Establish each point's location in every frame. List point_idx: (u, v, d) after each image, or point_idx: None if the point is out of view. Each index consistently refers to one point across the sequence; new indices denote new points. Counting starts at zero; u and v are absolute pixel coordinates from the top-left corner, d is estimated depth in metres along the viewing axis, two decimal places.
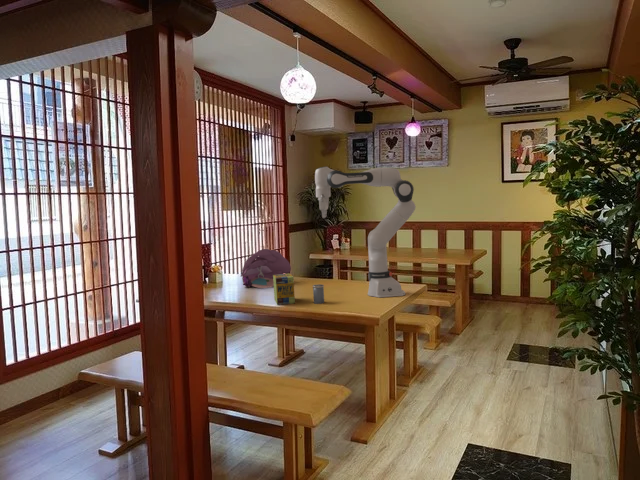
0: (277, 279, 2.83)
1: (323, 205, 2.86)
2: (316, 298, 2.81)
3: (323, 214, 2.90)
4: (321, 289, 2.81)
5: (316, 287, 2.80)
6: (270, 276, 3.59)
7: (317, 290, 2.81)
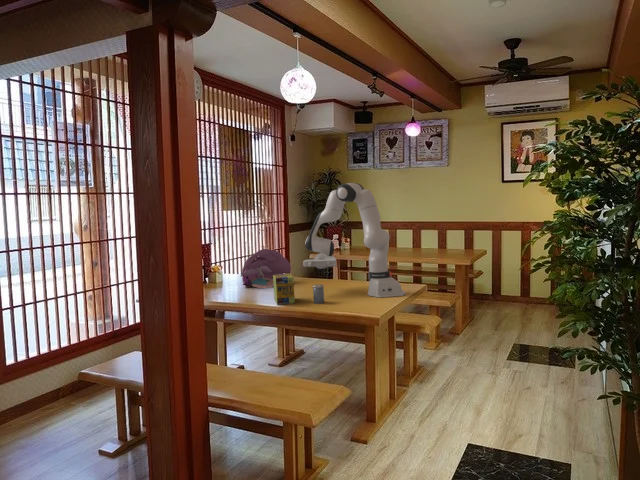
0: (277, 279, 2.83)
1: None
2: (316, 298, 2.81)
3: (309, 264, 2.97)
4: (321, 289, 2.81)
5: (316, 287, 2.80)
6: (270, 276, 3.59)
7: (317, 290, 2.81)
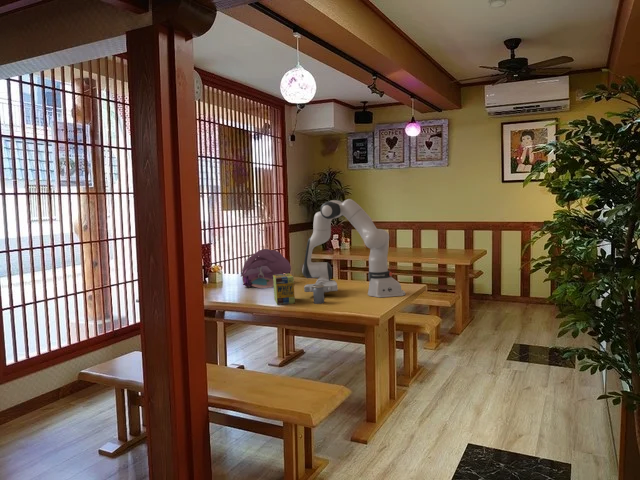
0: (277, 279, 2.83)
1: None
2: (316, 298, 2.81)
3: (310, 289, 2.95)
4: (321, 289, 2.81)
5: (316, 287, 2.80)
6: (270, 276, 3.59)
7: (317, 290, 2.81)
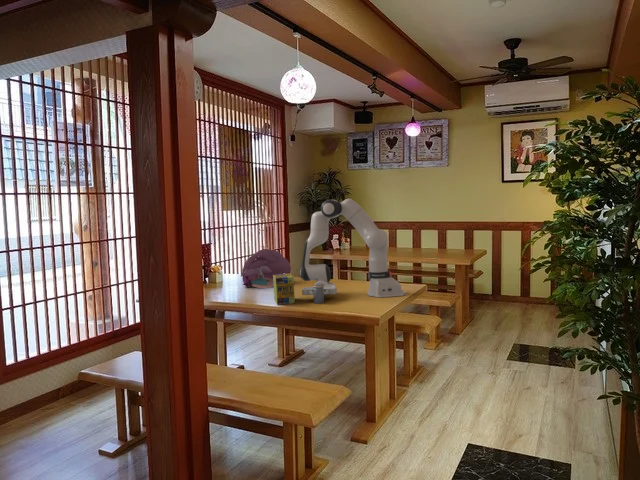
0: (277, 279, 2.83)
1: None
2: (316, 298, 2.81)
3: (310, 293, 2.85)
4: (321, 289, 2.81)
5: (316, 287, 2.80)
6: (270, 276, 3.59)
7: (317, 290, 2.81)
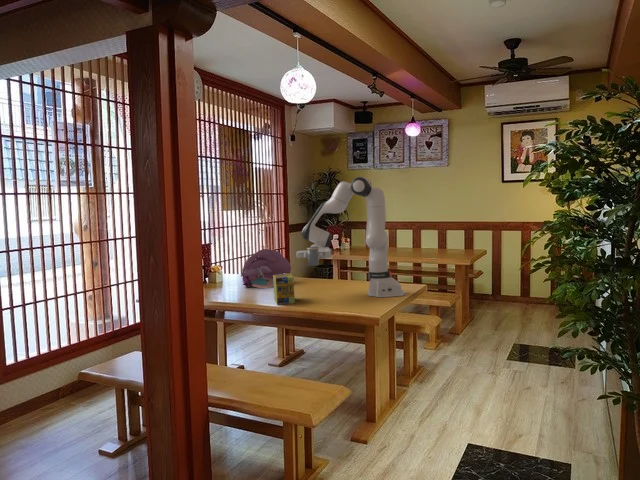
0: (277, 279, 2.83)
1: None
2: (310, 260, 2.80)
3: (304, 255, 2.84)
4: (315, 251, 2.80)
5: (310, 249, 2.79)
6: (270, 276, 3.59)
7: (312, 252, 2.79)
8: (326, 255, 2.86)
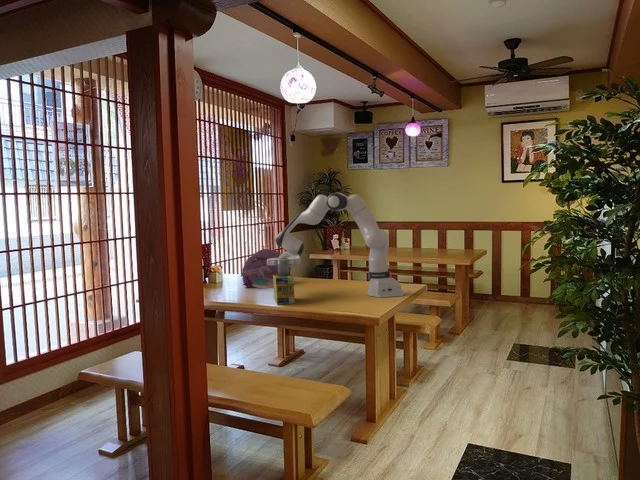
0: (277, 279, 2.83)
1: None
2: (280, 271, 2.88)
3: (273, 263, 2.92)
4: (285, 262, 2.88)
5: (280, 260, 2.87)
6: (270, 276, 3.59)
7: (281, 263, 2.87)
8: (295, 262, 2.93)
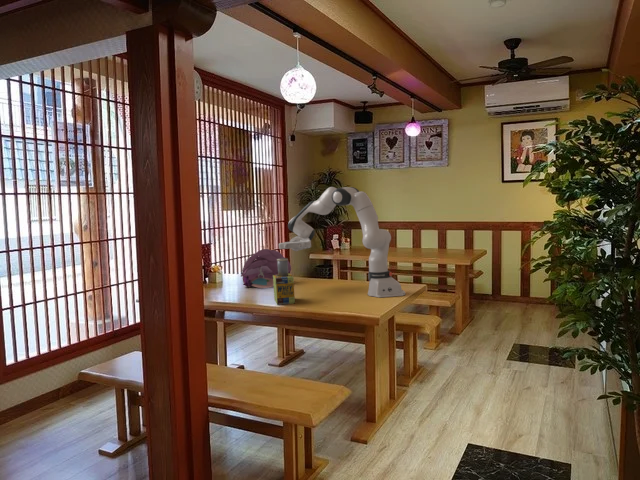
0: (277, 279, 2.83)
1: None
2: (280, 271, 2.88)
3: (284, 246, 3.06)
4: (285, 262, 2.88)
5: (280, 260, 2.87)
6: (270, 276, 3.59)
7: (281, 263, 2.87)
8: (306, 245, 3.07)
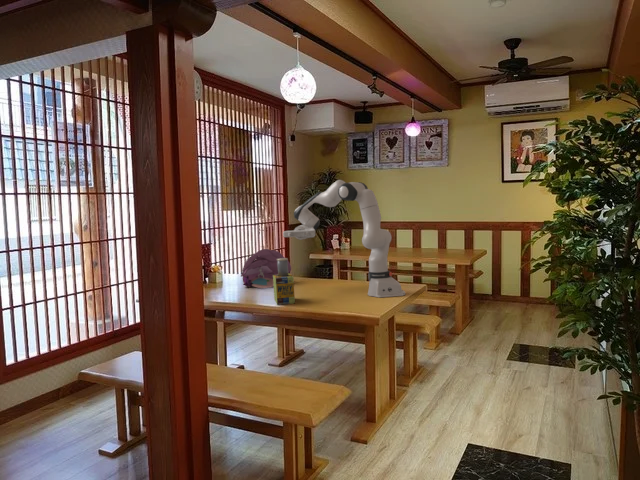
0: (277, 279, 2.83)
1: None
2: (280, 271, 2.88)
3: (289, 234, 3.06)
4: (285, 262, 2.88)
5: (280, 260, 2.87)
6: (270, 276, 3.59)
7: (281, 263, 2.87)
8: (310, 234, 3.08)
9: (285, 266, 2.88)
